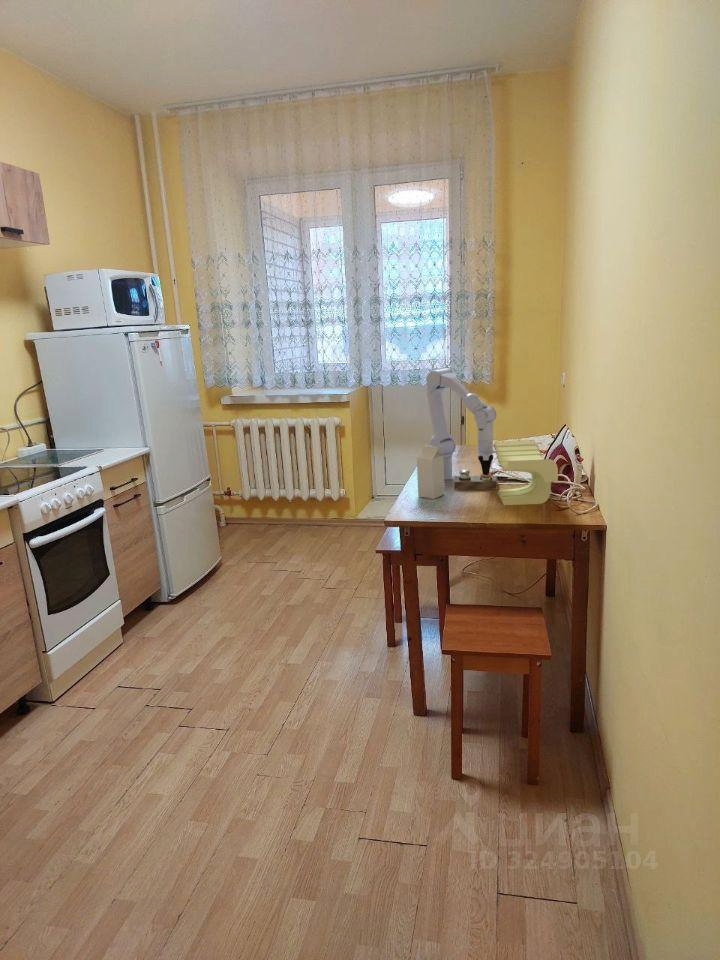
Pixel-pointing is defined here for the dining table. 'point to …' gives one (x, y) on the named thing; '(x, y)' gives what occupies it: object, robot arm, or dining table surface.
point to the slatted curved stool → (526, 460)
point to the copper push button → (485, 476)
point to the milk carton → (430, 472)
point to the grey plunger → (464, 474)
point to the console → (475, 483)
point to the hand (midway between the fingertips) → (485, 474)
